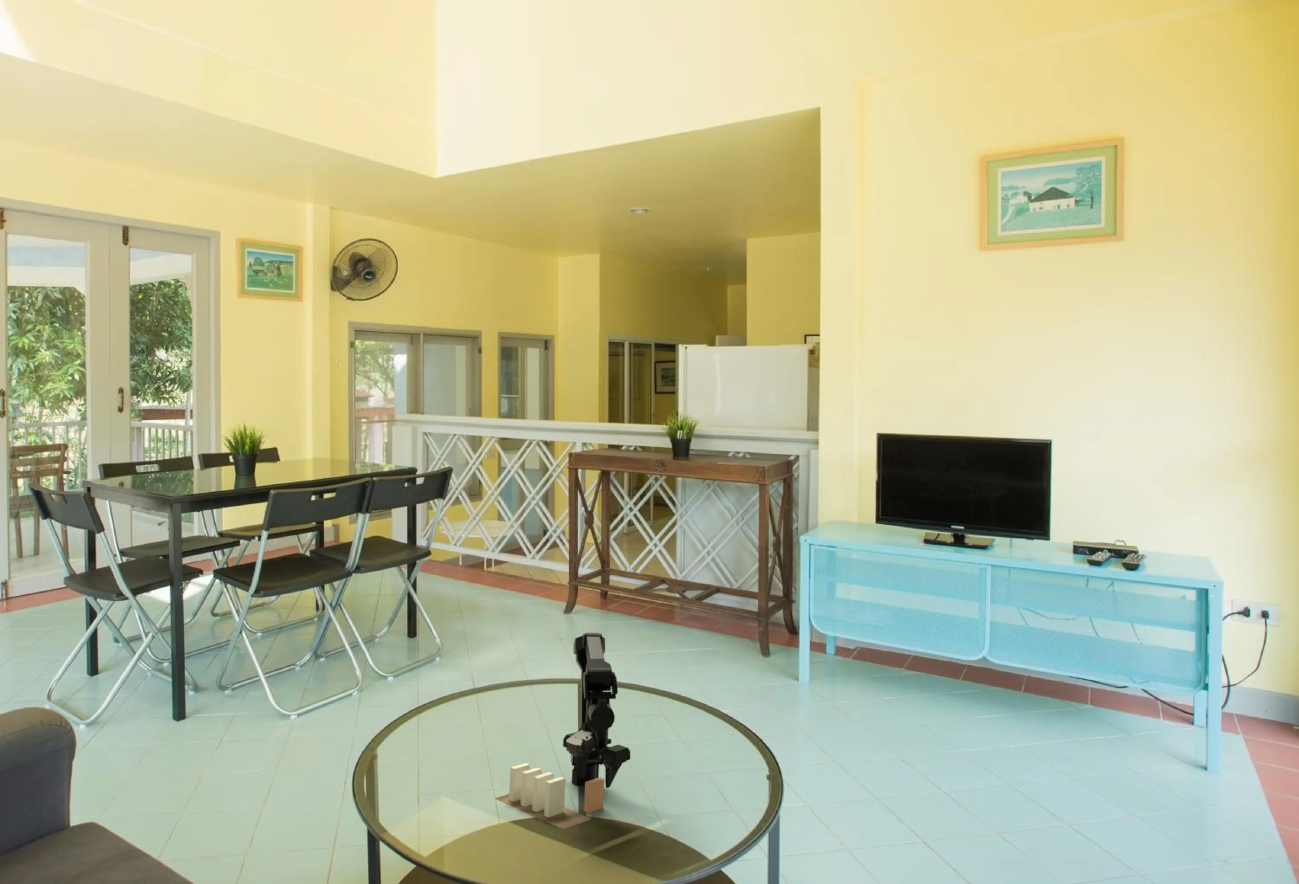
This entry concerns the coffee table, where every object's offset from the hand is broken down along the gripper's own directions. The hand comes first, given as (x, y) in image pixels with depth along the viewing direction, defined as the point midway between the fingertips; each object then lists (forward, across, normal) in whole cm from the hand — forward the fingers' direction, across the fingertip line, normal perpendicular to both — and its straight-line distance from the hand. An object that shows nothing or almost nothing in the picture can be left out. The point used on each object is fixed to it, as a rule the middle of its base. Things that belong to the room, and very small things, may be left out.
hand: (594, 782), depth 200 cm
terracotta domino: (+7, 0, 0) cm, 7 cm away
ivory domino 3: (+6, -9, -9) cm, 14 cm away
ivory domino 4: (+6, -4, -9) cm, 12 cm away
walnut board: (+7, -9, -9) cm, 15 cm away
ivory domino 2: (+6, -13, -9) cm, 17 cm away
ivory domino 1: (+6, -18, -9) cm, 21 cm away
